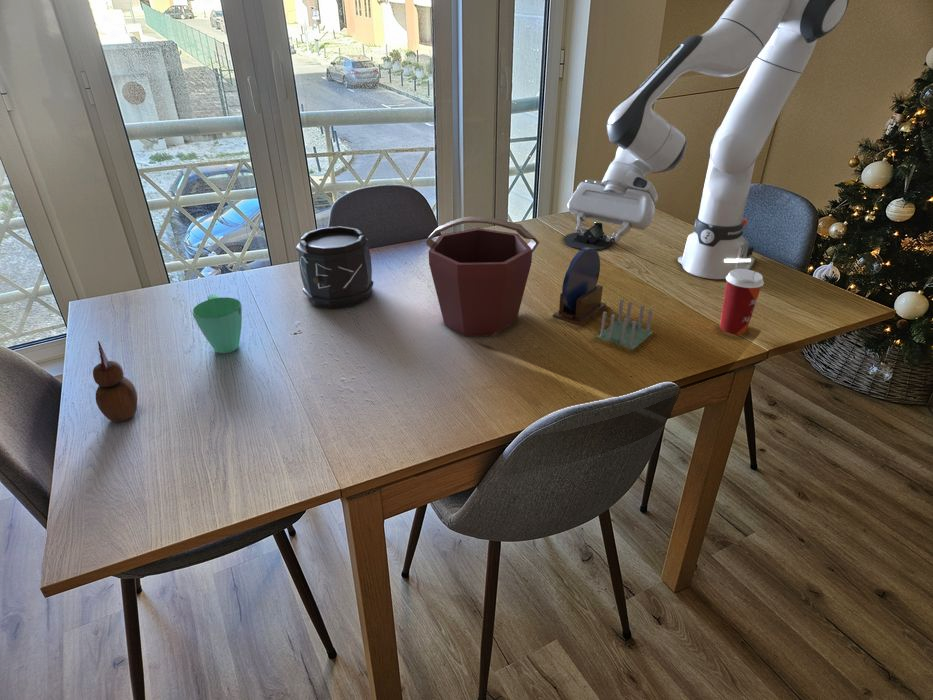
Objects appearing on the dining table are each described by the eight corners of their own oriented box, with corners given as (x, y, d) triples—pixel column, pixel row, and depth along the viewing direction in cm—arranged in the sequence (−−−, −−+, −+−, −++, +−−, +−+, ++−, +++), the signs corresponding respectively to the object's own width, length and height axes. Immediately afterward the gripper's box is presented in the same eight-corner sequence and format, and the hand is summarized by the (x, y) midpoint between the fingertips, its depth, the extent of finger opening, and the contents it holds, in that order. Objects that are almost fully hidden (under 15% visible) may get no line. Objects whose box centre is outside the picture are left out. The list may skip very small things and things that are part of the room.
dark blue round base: (601, 254, 180) (603, 236, 177) (555, 244, 187) (556, 227, 184) (620, 238, 191) (622, 221, 188) (575, 230, 198) (577, 213, 195)
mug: (253, 352, 133) (244, 311, 128) (206, 363, 129) (195, 322, 124) (242, 324, 144) (233, 285, 139) (197, 334, 141) (187, 294, 136)
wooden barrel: (288, 304, 153) (278, 245, 145) (328, 277, 168) (320, 221, 160) (350, 316, 147) (343, 255, 139) (386, 287, 162) (381, 230, 154)
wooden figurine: (114, 406, 117) (89, 337, 109) (146, 404, 117) (123, 335, 109) (99, 427, 111) (71, 357, 103) (132, 426, 111) (107, 355, 103)
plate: (592, 297, 152) (598, 239, 144) (596, 298, 151) (603, 240, 144) (559, 318, 142) (564, 258, 134) (564, 320, 141) (569, 259, 134)
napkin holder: (580, 301, 153) (583, 277, 150) (605, 309, 149) (608, 284, 146) (552, 320, 145) (554, 295, 141) (578, 329, 141) (580, 303, 138)
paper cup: (753, 341, 135) (768, 283, 128) (716, 338, 137) (730, 280, 129) (746, 324, 142) (761, 268, 135) (712, 322, 143) (724, 266, 136)
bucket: (544, 311, 149) (550, 210, 136) (511, 353, 132) (514, 243, 119) (453, 293, 158) (451, 198, 145) (411, 331, 141) (405, 227, 128)
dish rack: (616, 323, 143) (620, 296, 139) (652, 335, 138) (657, 307, 134) (595, 340, 136) (598, 312, 133) (632, 353, 131) (636, 324, 128)
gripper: (578, 170, 146) (553, 221, 144) (658, 184, 134) (632, 239, 133) (586, 185, 151) (562, 234, 150) (664, 199, 139) (639, 252, 138)
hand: (596, 236), depth 141 cm, fingers open, 8 cm apart
